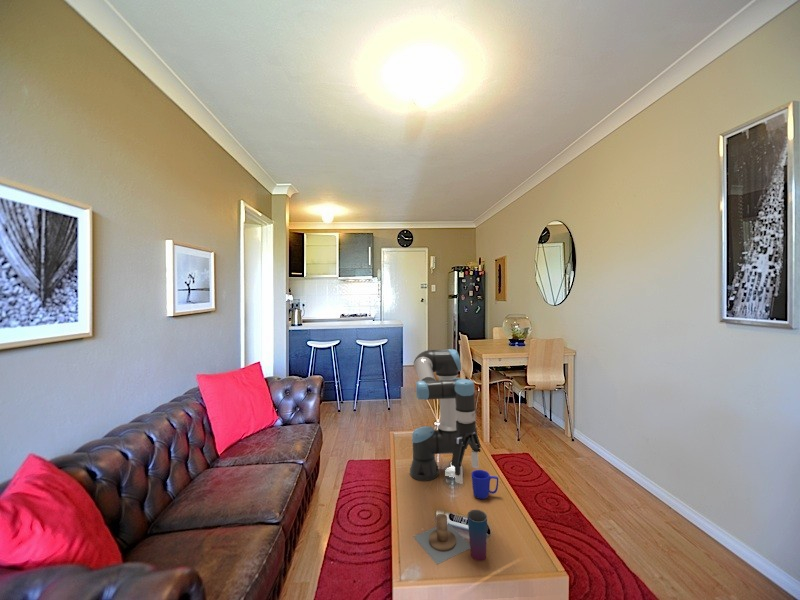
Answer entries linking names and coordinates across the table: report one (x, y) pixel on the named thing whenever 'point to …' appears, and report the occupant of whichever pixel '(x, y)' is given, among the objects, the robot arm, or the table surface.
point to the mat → (442, 555)
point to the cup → (477, 534)
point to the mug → (482, 483)
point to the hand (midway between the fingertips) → (467, 475)
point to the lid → (442, 535)
